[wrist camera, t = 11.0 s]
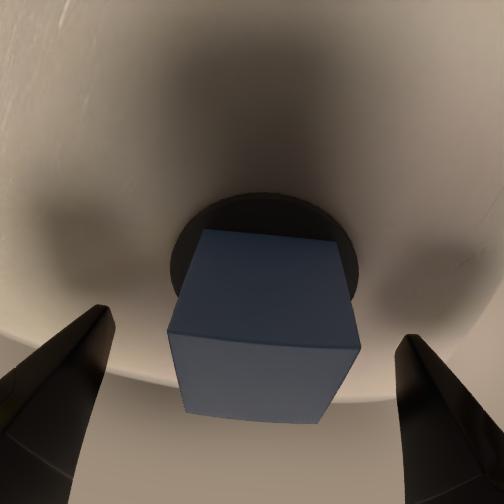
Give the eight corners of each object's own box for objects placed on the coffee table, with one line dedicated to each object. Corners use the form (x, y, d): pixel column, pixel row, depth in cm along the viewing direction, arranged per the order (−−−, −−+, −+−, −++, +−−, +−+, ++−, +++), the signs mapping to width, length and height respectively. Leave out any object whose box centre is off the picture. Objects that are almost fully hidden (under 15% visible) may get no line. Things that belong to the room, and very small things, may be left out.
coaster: (392, 239, 9) (395, 245, 9) (303, 352, 13) (303, 359, 13) (202, 160, 8) (199, 164, 8) (158, 307, 12) (155, 314, 12)
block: (311, 328, 11) (317, 424, 8) (206, 319, 11) (185, 413, 8) (336, 240, 9) (363, 348, 6) (203, 227, 9) (165, 330, 6)
